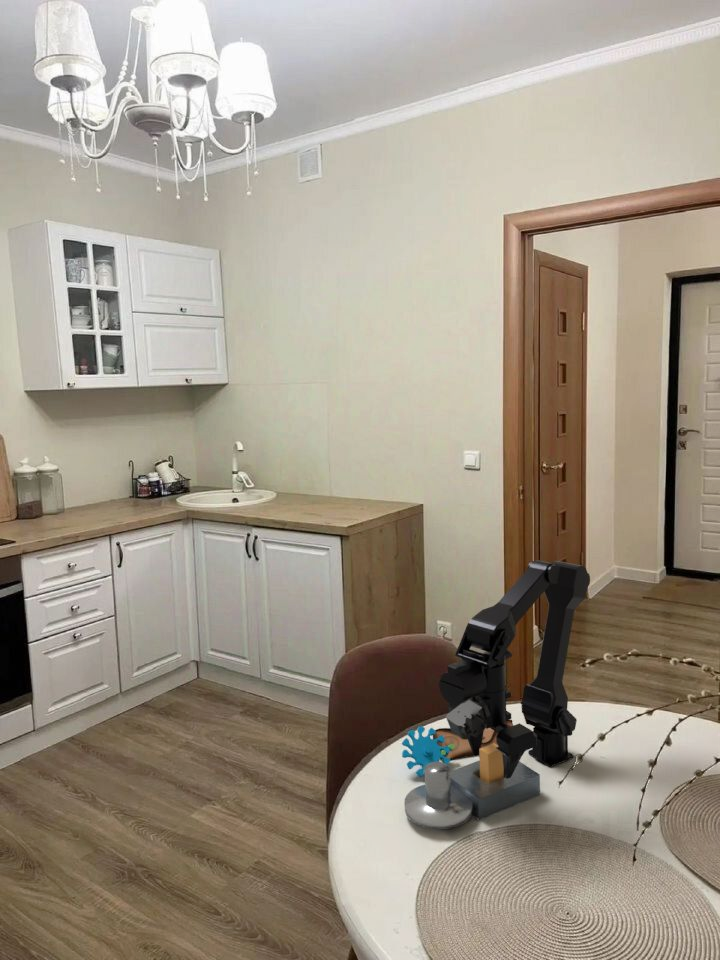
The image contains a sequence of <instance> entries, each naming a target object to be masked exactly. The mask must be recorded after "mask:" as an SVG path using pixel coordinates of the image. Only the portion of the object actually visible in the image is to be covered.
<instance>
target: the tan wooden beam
mask: <svg viewBox="0 0 720 960" xmlns="http://www.w3.org/2000/svg"><path fill="white" fill-rule="evenodd" d="M496 747H499V746H498V745H496V744H495V743H493V744H490V745H488V746H485V747H482V748H480V749H479V755H478V756H479V757H478V758H479V760H480V779H481V780H483V781H484V782H485V783H487V784H490V783H492V782H495V781H497V780H500V779H502V778H504V769H503V756H502V753H501V752H500V751H499V750H497V749H496Z"/></svg>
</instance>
